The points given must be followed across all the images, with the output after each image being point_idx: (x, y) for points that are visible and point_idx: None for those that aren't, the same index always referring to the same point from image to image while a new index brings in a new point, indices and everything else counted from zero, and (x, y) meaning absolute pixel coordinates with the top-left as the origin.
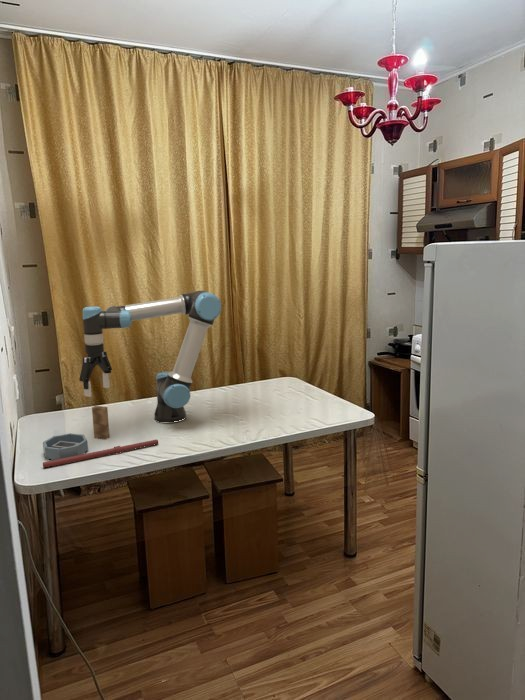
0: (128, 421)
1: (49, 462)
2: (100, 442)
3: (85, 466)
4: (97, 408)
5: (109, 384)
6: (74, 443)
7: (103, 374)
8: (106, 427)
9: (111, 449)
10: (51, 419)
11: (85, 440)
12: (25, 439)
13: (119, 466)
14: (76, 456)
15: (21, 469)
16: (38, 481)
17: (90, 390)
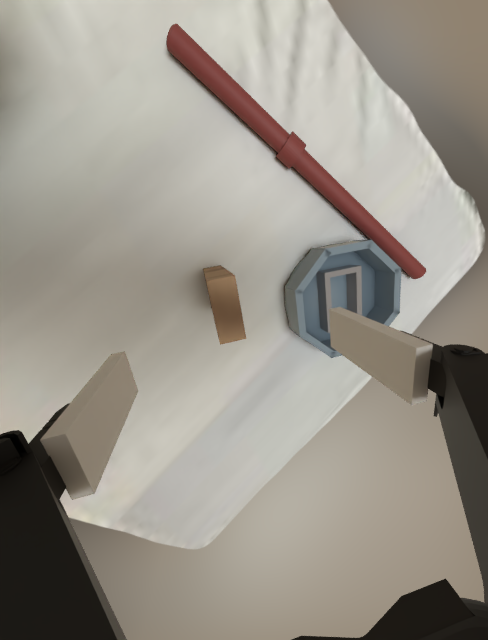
0: (55, 315)
1: (418, 262)
2: (245, 265)
3: (385, 181)
4: (240, 310)
5: (102, 365)
6: (329, 285)
7: (95, 472)
8: (218, 269)
9: (310, 158)
10: (178, 497)
11: (330, 250)
12: (301, 435)
13: (363, 76)
14: (378, 225)
15: (425, 310)
16: (466, 228)
17: (359, 319)
